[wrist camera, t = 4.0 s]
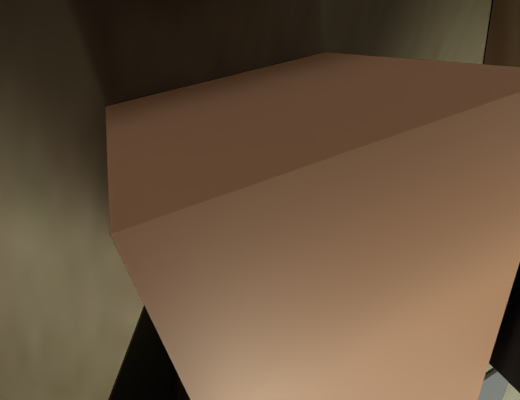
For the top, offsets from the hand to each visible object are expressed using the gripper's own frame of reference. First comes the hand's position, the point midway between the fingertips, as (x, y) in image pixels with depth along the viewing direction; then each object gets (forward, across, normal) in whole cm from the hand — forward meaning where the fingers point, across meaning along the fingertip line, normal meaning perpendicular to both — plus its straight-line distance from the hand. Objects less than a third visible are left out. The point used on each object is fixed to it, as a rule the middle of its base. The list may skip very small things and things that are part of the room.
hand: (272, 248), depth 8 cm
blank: (+1, 0, 0) cm, 1 cm away
